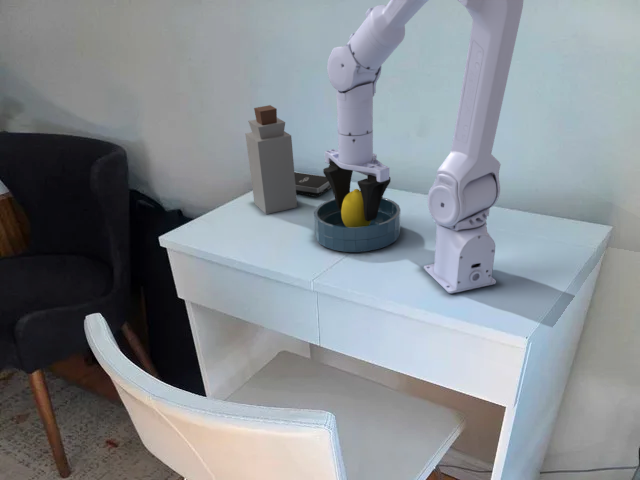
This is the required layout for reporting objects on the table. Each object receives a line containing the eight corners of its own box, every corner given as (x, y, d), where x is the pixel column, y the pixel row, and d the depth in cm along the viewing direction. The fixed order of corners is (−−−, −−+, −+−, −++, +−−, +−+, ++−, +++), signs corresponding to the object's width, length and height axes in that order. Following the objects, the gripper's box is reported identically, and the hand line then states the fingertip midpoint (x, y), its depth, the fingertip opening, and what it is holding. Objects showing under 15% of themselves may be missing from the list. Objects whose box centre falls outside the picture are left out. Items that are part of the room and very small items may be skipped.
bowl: (413, 243, 106) (414, 218, 103) (330, 260, 103) (329, 234, 100) (380, 213, 117) (380, 189, 114) (305, 227, 114) (303, 203, 111)
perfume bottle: (254, 203, 125) (241, 107, 113) (284, 196, 127) (275, 101, 115) (266, 214, 120) (254, 115, 109) (297, 207, 122) (289, 109, 111)
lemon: (361, 242, 107) (360, 197, 102) (336, 236, 110) (334, 191, 105) (378, 231, 110) (378, 186, 105) (353, 225, 113) (352, 181, 108)
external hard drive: (318, 198, 125) (317, 188, 124) (274, 191, 130) (273, 181, 128) (335, 187, 129) (334, 177, 128) (291, 180, 134) (291, 171, 133)
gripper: (404, 133, 96) (401, 218, 105) (345, 117, 105) (348, 196, 114) (370, 144, 93) (370, 230, 102) (313, 126, 102) (318, 207, 111)
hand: (356, 213), depth 108 cm, fingers open, 7 cm apart
